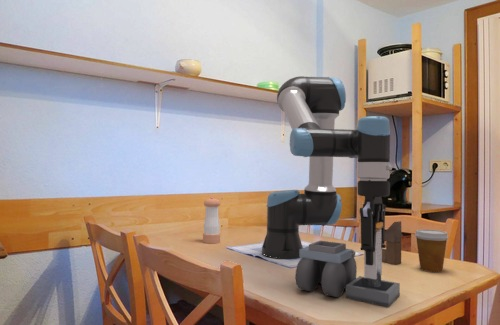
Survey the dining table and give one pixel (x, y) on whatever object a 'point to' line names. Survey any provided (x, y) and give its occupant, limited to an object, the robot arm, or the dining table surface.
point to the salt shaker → (211, 221)
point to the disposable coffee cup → (431, 249)
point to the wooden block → (392, 244)
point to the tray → (373, 292)
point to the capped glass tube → (377, 248)
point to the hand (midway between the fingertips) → (373, 275)
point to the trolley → (325, 267)
